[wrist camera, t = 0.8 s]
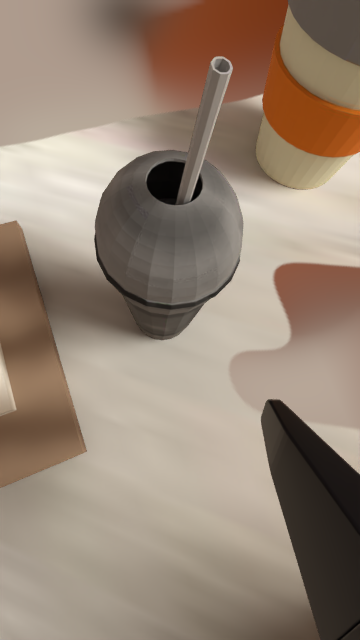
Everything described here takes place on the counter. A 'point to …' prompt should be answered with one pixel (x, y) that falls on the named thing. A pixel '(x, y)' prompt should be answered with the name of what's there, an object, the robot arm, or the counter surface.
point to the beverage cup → (172, 226)
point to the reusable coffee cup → (312, 94)
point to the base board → (30, 372)
